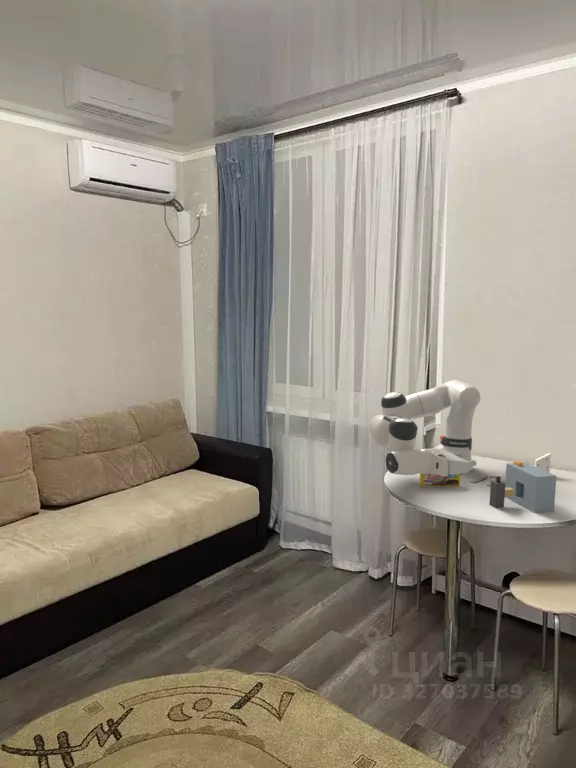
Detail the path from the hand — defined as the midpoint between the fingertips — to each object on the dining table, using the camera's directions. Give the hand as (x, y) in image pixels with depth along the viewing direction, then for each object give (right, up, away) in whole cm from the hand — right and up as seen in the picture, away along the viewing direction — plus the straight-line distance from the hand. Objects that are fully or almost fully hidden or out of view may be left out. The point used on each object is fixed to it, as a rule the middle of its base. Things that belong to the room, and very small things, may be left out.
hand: (468, 459), depth 208 cm
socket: (+25, -17, +8) cm, 31 cm away
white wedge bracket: (+45, -13, +45) cm, 65 cm away
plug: (+14, -18, +6) cm, 23 cm away
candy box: (-3, -15, +28) cm, 32 cm away
